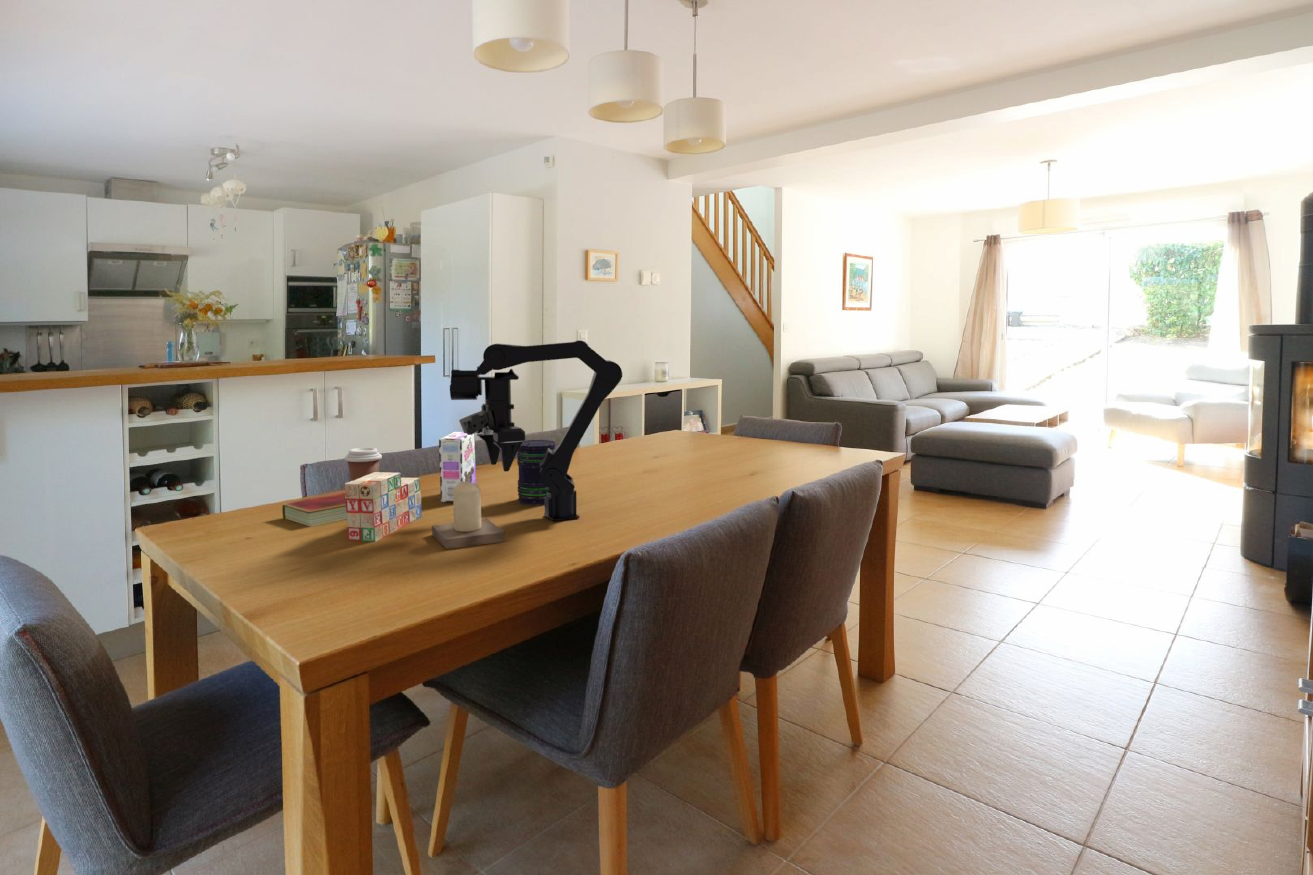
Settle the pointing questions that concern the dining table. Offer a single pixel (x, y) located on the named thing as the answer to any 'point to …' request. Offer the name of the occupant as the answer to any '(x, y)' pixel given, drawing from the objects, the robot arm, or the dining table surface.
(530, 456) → the storage jar
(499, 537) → the grey square slab
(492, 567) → the dining table surface
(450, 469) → the candy box
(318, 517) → the hardcover book
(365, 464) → the coffee cup
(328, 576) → the dining table surface
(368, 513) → the stack of blocks
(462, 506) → the candle
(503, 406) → the robot arm
